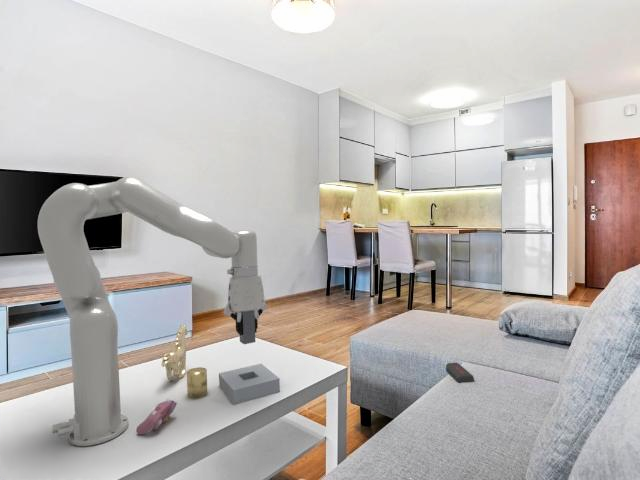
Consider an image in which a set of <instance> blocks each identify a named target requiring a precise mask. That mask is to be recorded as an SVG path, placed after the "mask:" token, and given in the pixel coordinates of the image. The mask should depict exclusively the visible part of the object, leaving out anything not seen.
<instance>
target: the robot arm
mask: <svg viewBox="0 0 640 480" xmlns="http://www.w3.org/2000/svg"><path fill="white" fill-rule="evenodd" d="M123 213H129V214H131V215H133V216H135V217H137V218H139V219H141V220H142V221H144V222H146V223H148V224H149V225H151V226H154V227H155V228H157V229H159V230H160V231H162V232H164V233H167V234H169V235H172V236H173V237H178V238H181V239H184V240H187V241H189V242H192V243H194V244H195V245H197V246H200V247H201V248H202V251H203V252H204V253H206V254H207V255H208V256H210V257H213V258H214V257H215V258H220V259H230V258H231V266H230V268H229V269H227V270H226V274H227V275H231V276H230V277H229V282H228V289H227V291H228V292H227V304H226V306H225V307H224V310H223V311H222V313H223V314H224V315H226V316H228V317H230V318H232V320H234V321H235V332H236V333H237V334H238V335H239V336H240V335H243V323H242V321H241V315H242V312H246V311H252V310H254V316H255V334H257V331H258V330H257V329H258V327H259V326H258V324H259V322H258V321H259V318H260V316H261V315H262V313H263V312H264V311H266V310H267V309H268V308H269V306H268V304H267V303H266V301H265V293H264V285H263V281H262V276H261V275H259V273H258V251H257V250H258V244H257V243H258V242H257V241H258V240H257V239H258V237H257V233H256V231H254V230H234V231H232V230H230V229H228V228H227V227H224V226H223V225H222V224H220V223H218V222H216V221H215V220H213V219H211V218H209V217H207V216H205V215H204V214H201V213H199V212H197V211H195V210H193V209H192V208H190V207H187V206H185V205H184V204H182V203H180V202H179V201H176V200H175V199H173V198H171V197H170V196H168V195H167V194H165V193H163V192H161V191H160V190H159V189H156V188H154V187H153V186H152V185H150V184H148V183H146V182H145V181H143V180H141V179H139V178H136V177H133V176H125V177H121V178H120V179H118V180H117V181H112V182H106V183H98V184H92V185H87V184H85V183H79V182H72V183H68V184H66V185H63V186H61V187H60V188H58V189H56V190H55V191H54V192H53V193H52V194H51V195H50V196H49V197H48V198H47V199H45V201H44V202H43V204H42V206H41V208H40V210H39V214H38V217H37V233H38V237H39V240H40V244H41V246H42V249H43V253H44V255H45V260H46V262H47V264H48V267H49V269H50V273H51V275H52V279H53V283H54V287H55V291H57V293H58V294H59V296H60V298H61V301H62V304H63V306H64V308H65V311H66V313H67V315H68V319H69V338H70V351H71V369H72V372H71V373H72V384H73V399H74V400H73V402H74V404H73V405H74V414H73V418H70V419H68V421H64V422H59V423H54V424H52V434H56V433H57V436H59V437H60V436H64V435H66V434H68V435H67V438H68V439H67V440H68V442H69V444H71V445H74V446H78V447H88V446H89V447H90V446H95V445H99V444H103V443H106V442H109V441H110V440H113V439H115V438H117V437H118V436H119V435H121V434H122V433H124V432H125V431H126V429H127V428H128V426H129V419H128V417H127V415H124V414H122V412H121V411H122V410H121V409H122V408H121V407H122V406H121V390H120V367H119V365H120V364H119V351H118V349H119V348H118V345H119V344H118V340H119V338H118V336H119V334H118V333H119V329H118V328H119V326H118V324H119V323H118V320H117V319H118V318H117V315H116V312H115V311H114V309H113V308H112V305H111V304H110V303H111V302H110V300H109V298H108V295H107V292H106V290H105V287H104V284H103V281H102V278H101V273H100V270H99V269H98V267H97V265H96V263H95V261H94V258H93V255H92V254H91V250H90V248H89V245H88V241H87V238H86V236H85V235H86V234H85V232H84V225H85V222H86V221H87V220H92V219H97V218H102V217H109V216H114V215H119V214H120V215H121V214H123Z"/></svg>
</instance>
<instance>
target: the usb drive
mask: <svg viewBox="0 0 640 480" xmlns="http://www.w3.org/2000/svg"><path fill="white" fill-rule="evenodd" d="M444 368H445V372H446V373H447V374H448V375H449V376H450V377H451V378H452V379H453V380H454V381H455V382H456V383H458V384H459V383H461V384H463V383H475V378H474V376H473V375H472V373H471V372H469V371H468V370H467V369H466V368H465V367H463V366H462V365H461V364H460V363H458V362H444Z"/></svg>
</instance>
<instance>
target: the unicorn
mask: <svg viewBox="0 0 640 480" xmlns="http://www.w3.org/2000/svg"><path fill="white" fill-rule="evenodd" d="M187 335H188V330H187V325H186V320H184V321H183V325H182V324H181V325H180V326H179V329H178V331H177V332H176V338H175V343H174V347H173V350H172V351H170V352H166V353H164V356H163V357H162V361H161V367H162V368H164V367H165V371H166V378H167V379H168V380H169V382H174V379H173V377H172V374H173V375H174V376H178V378H179V379H181V378H183V376H184V374H185V371H186V361H187V360H186V359H187V357H186V356H187V342H186V340H187V339H186V336H187ZM179 371H180V372H179Z"/></svg>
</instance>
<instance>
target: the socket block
mask: <svg viewBox="0 0 640 480" xmlns="http://www.w3.org/2000/svg"><path fill="white" fill-rule="evenodd" d="M280 380H281V379H280V377H278V376H277V375H276V374H275V373H274V372H272V370H270V369H269V368H267V366H265V365H264V364H263V363H258V364H255V365H254V364H253V365H249V366H248V365H247V366H245V367H240V368H235V369H232V370H227V371H226V370H225V371H223V372H219V373H218V386H219V387H220V389H221V390H222V391H223V393H224V394H225V396H226V397H227V398H228V399H229V400H230V402H231V403H232V404H233V405H236V404H240V403H243V402H249V401H251V400H254V399H255V400H256V399H259V398H262V397H265V396H269V395H273V394H276V392H277V393H279V392H281V390H280V389H281V386H280V382H281V381H280Z"/></svg>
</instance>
